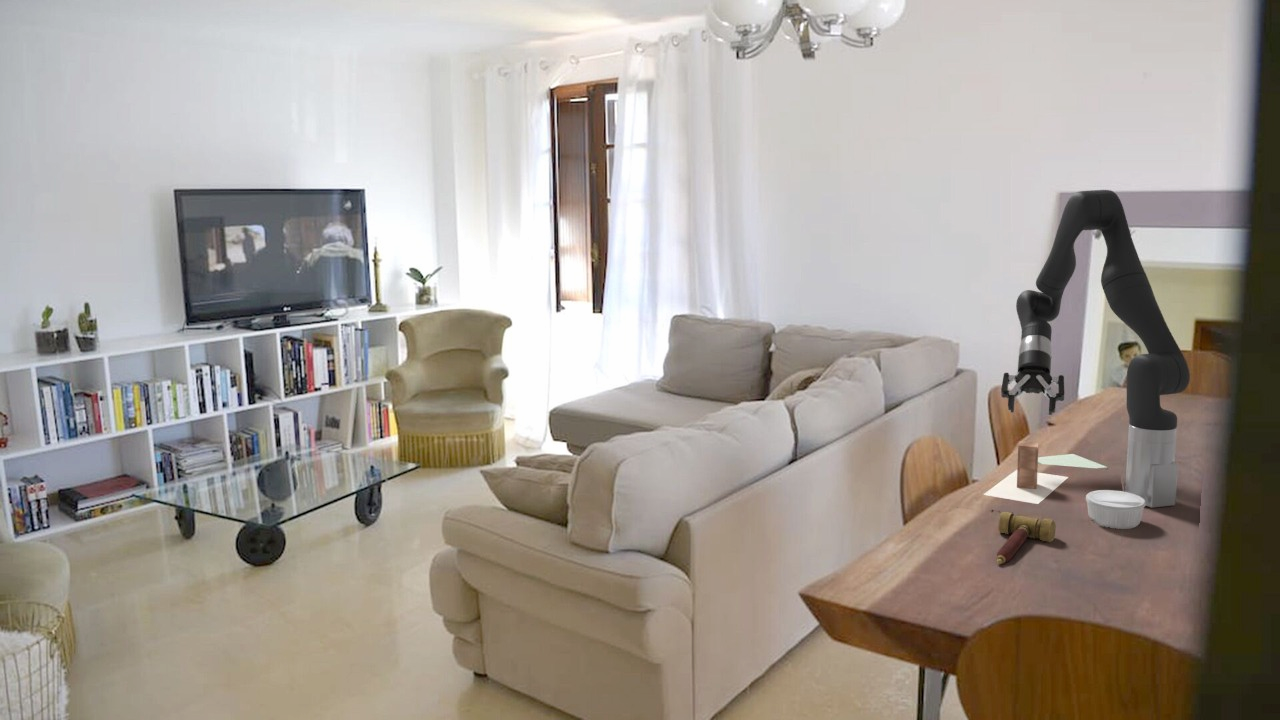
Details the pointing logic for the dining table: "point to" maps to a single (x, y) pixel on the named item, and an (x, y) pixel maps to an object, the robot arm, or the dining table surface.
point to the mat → (1069, 461)
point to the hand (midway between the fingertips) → (1031, 412)
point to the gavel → (1022, 533)
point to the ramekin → (1115, 508)
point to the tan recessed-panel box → (1027, 465)
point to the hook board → (1035, 496)
